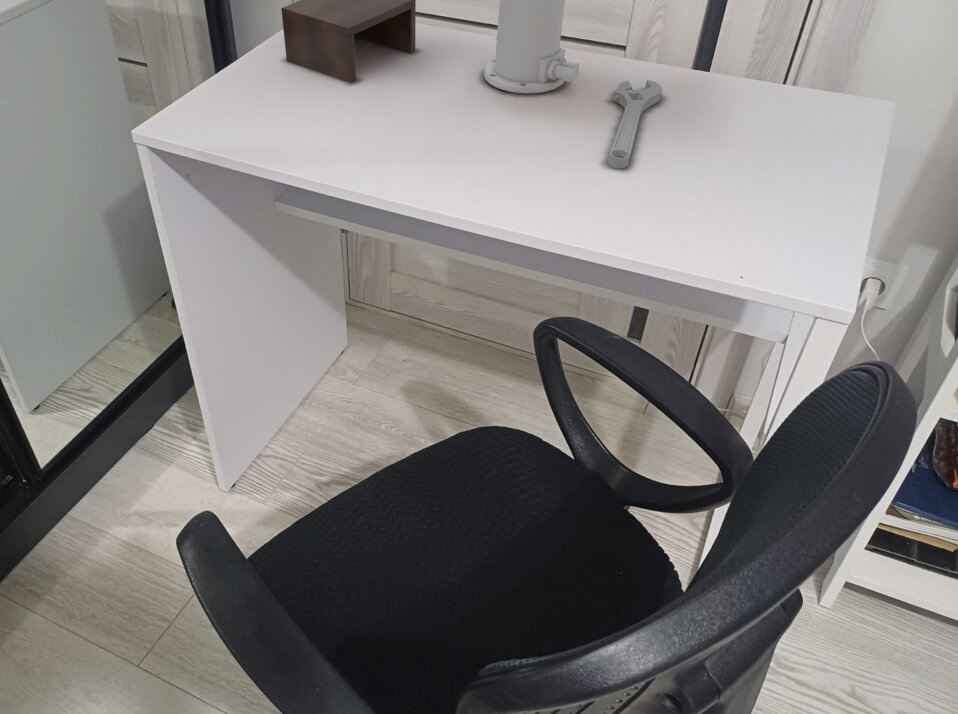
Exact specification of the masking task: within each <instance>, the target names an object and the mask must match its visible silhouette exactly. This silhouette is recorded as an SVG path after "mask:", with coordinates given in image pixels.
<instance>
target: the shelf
mask: <svg viewBox="0 0 958 714" xmlns="http://www.w3.org/2000/svg"><path fill="white" fill-rule="evenodd" d="M416 2H417V1H416V0H298V1H296V2H293V3H290V4H287V5H286V6H282V7H281V8H280V10H281V18H282V19H281V20H282V28H283V29H282V30H283V38H284V40H283V41H284V47H285V58H286V61H287V62H290V63H292V64H295V65H299V66H301V67H305V68H307V69H310V70H312V71H316V72H318V73H322V74H325V75H327V76H331V77H333V78H337V79H339V80H342V81H345V82H348V83H351V84H352V83H354V82H356V81H357V67H356V49H355V48H356V47H355V45H356V44H355V43H356V42H355V37H359V38H361V39H365V40H368V41H370V42H374V43H378V44H381V45H384V46H388V47H391V48H394V49H397V50H401V51H403V52H407V53H410V54H411V53H414V52H415V51H416V8H417V7H416Z"/></svg>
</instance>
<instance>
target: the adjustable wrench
mask: <svg viewBox="0 0 958 714" xmlns="http://www.w3.org/2000/svg"><path fill="white" fill-rule="evenodd" d="M662 87H663V86H662V85H661V84H660V83H658V82H656V81H655V80H651V79H646V83H645V88H642V89H641V88H640V89H633V86H632V83H631V82H630V81H629V80H625V81H622V82H620V83H619V84H618V86H617V88H616V89H617V90H616V89H615V90H613V95H612V101H613V102H616V103H617V104H619V105H620V106H621V107H623V109H624V112H623V114H622V117H621V120H620V123H619V125H618V128H617V131H616V134H615V136H614V140H613V142H612V145H611V148H610V151H609V155H608V161H607V164H608V166H610V167H611V168H613V169H625V168H627V167H628V166H629V163H630V159H631V155H632V150H633V147H634V142H635V138H636V134H637V130H638V126H639V122H640V117H641V115H642V113H643V112H644V111H646V110H647V109H648V108H650V107H651V106H653V105H655V104H657V103H658V102H660V100H661V95H662V91H663V88H662Z"/></svg>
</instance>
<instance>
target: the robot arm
mask: <svg viewBox="0 0 958 714" xmlns="http://www.w3.org/2000/svg"><path fill="white" fill-rule="evenodd" d="M565 6H566V0H499V3H498V16H497V31H496V43H495V57H494V58H493V59H491V60H490V61H488V62H487V63H486V64H485V65H484V69H483V77H484V79H485V81H486V82H487V83H488V84H490V85H491V86H493V87H494V88H496V89H499V90H502V91H504V92H510V93H516V94H541V93H546V92H550V91H553V90H555V89H557V88H559V87H561V86H562V85H563V84H564V83H566V82H567V83H571V84H574V83H575V82H577V79H578V76H579V69H580V65H579V63H575V62H572V61H567V59H566V48H563V47H560V46H561V37H562V29H563V21H564V14H565Z"/></svg>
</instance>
